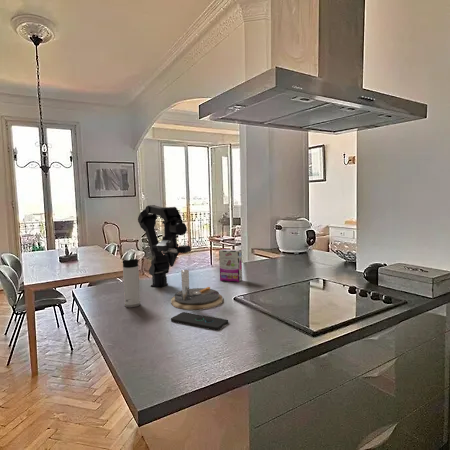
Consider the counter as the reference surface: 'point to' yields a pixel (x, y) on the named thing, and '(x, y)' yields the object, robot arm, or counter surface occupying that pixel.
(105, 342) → the counter surface
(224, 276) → the candy bar box
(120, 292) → the counter surface
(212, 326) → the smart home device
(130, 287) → the travel mug
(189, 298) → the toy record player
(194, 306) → the oak stand
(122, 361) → the counter surface
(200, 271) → the counter surface
